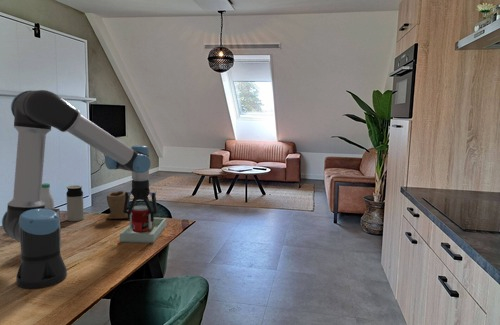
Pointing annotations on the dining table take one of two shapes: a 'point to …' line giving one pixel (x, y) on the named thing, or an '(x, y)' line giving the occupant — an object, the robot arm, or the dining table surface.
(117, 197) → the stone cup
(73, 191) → the travel mug
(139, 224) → the canned food
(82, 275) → the dining table surface
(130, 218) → the robot arm
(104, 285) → the dining table surface
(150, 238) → the tray
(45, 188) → the milk bottle
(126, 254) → the dining table surface
